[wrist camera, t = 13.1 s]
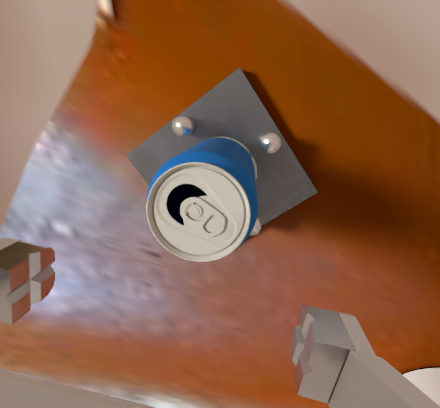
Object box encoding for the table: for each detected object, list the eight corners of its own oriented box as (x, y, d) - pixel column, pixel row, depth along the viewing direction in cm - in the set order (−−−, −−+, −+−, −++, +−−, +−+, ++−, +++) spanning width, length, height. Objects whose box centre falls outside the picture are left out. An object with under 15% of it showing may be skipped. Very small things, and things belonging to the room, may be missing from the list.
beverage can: (212, 121, 25) (181, 126, 14) (269, 165, 26) (284, 205, 14) (172, 178, 27) (116, 223, 16) (226, 217, 28) (210, 289, 16)
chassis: (315, 189, 27) (324, 199, 24) (207, 253, 30) (201, 271, 27) (240, 69, 25) (238, 62, 21) (131, 153, 28) (114, 158, 25)
